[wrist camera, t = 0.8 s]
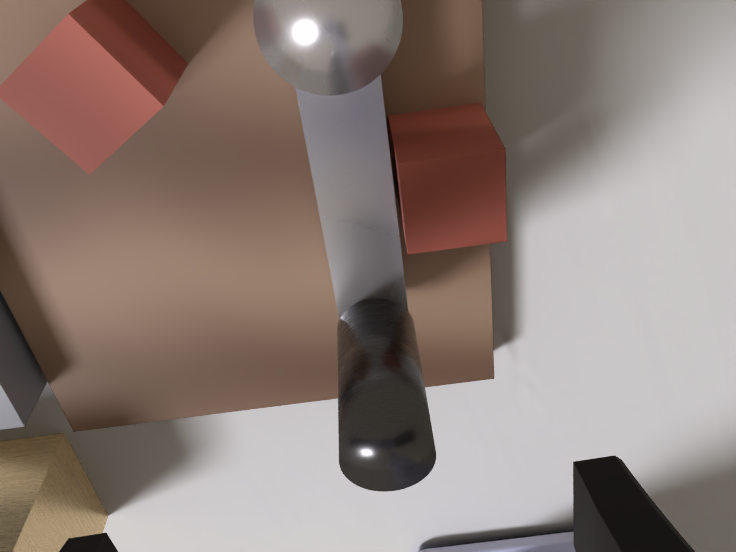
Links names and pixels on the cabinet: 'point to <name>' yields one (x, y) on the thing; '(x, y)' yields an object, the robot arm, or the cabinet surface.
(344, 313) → the crank
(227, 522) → the cabinet surface
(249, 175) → the crank base
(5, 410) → the tray
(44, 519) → the stop block
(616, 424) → the cabinet surface
